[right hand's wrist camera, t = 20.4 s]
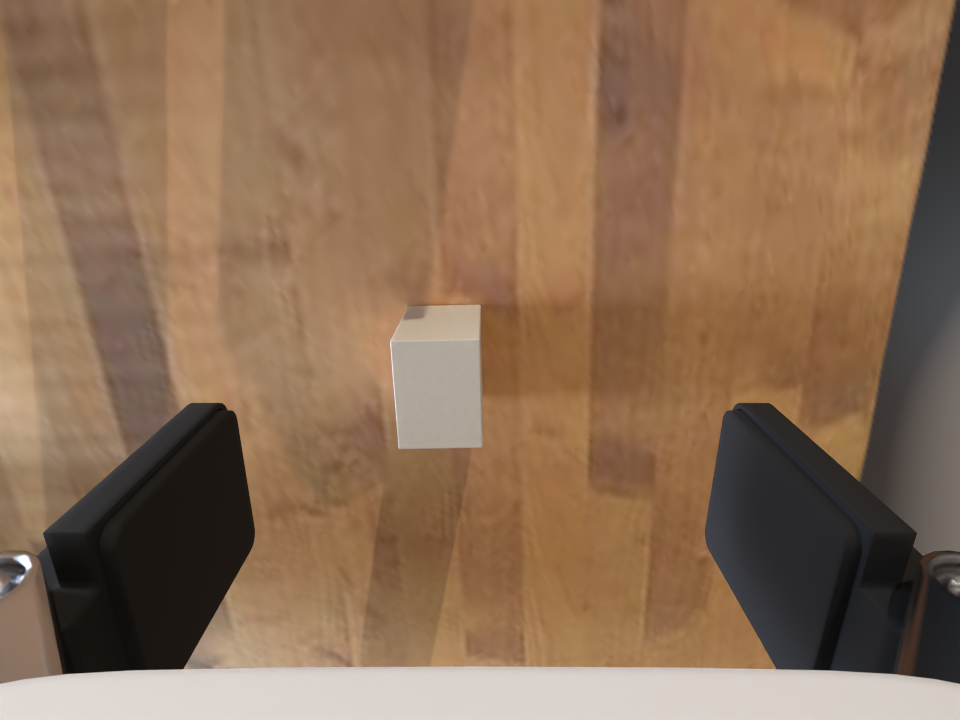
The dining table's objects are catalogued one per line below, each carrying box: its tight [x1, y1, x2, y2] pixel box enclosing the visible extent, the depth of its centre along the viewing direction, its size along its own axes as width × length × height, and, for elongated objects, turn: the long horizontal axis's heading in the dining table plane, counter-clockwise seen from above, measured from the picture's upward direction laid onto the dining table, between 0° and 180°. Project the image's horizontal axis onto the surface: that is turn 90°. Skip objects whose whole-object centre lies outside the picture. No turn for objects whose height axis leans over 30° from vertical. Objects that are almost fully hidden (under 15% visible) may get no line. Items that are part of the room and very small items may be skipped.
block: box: [390, 305, 483, 449], centre depth 37 cm, size 5×7×8 cm
